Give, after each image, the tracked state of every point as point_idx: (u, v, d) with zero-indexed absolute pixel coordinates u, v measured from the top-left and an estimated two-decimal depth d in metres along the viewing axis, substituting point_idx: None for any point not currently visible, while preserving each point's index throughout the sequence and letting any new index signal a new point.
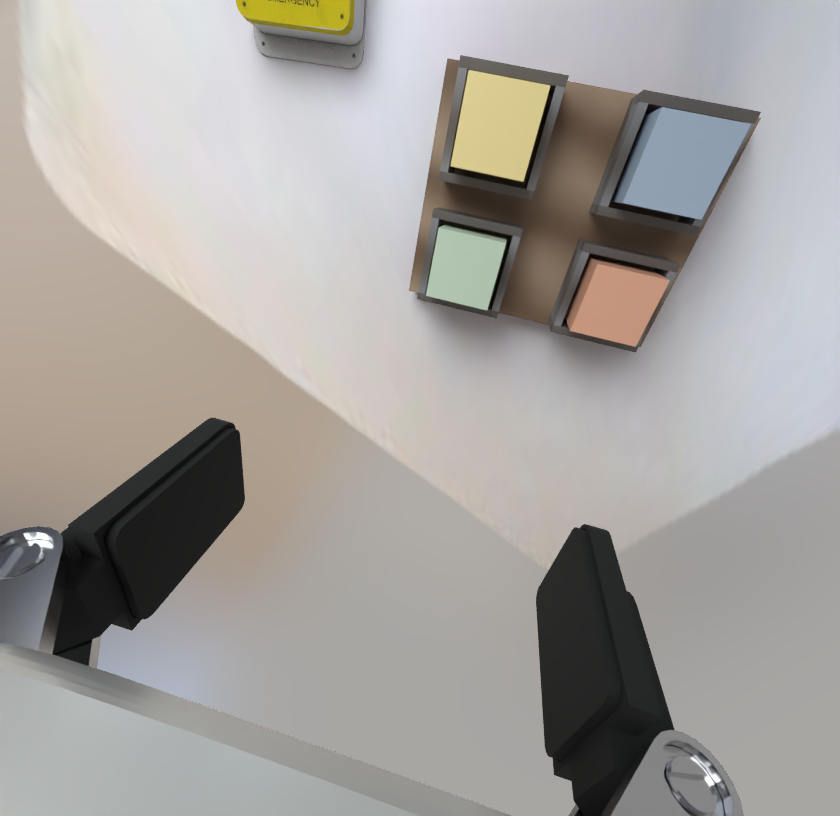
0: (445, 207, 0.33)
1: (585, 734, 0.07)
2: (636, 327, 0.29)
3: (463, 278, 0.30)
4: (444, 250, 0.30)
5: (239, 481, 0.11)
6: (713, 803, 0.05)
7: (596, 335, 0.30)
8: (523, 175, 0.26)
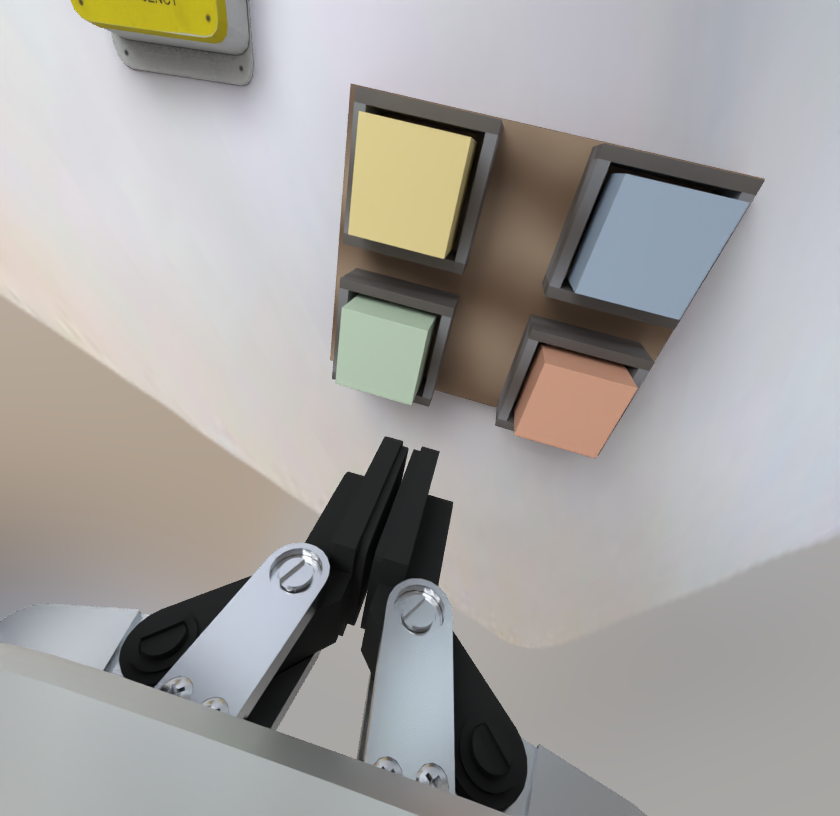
0: (364, 268, 0.26)
1: (372, 596, 0.08)
2: (595, 437, 0.23)
3: (378, 368, 0.24)
4: (351, 334, 0.23)
5: None
6: (434, 611, 0.07)
7: (546, 442, 0.24)
8: (443, 251, 0.19)
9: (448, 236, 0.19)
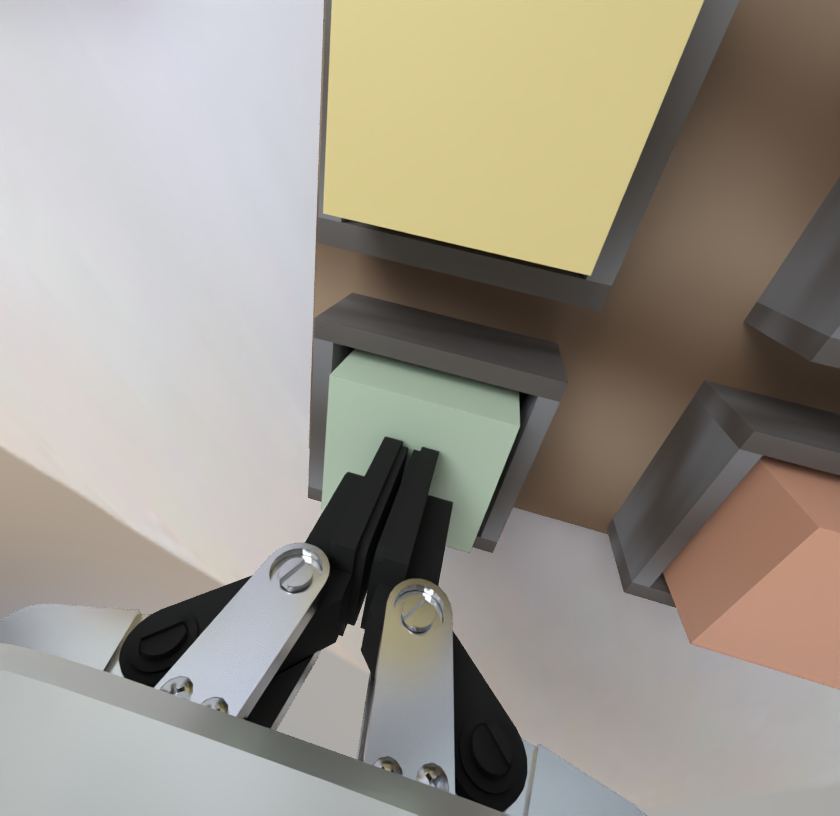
0: (366, 293, 0.13)
1: (372, 596, 0.08)
2: None
3: None
4: (351, 426, 0.11)
5: None
6: (433, 611, 0.07)
7: (765, 663, 0.11)
8: (592, 254, 0.07)
9: (614, 210, 0.06)
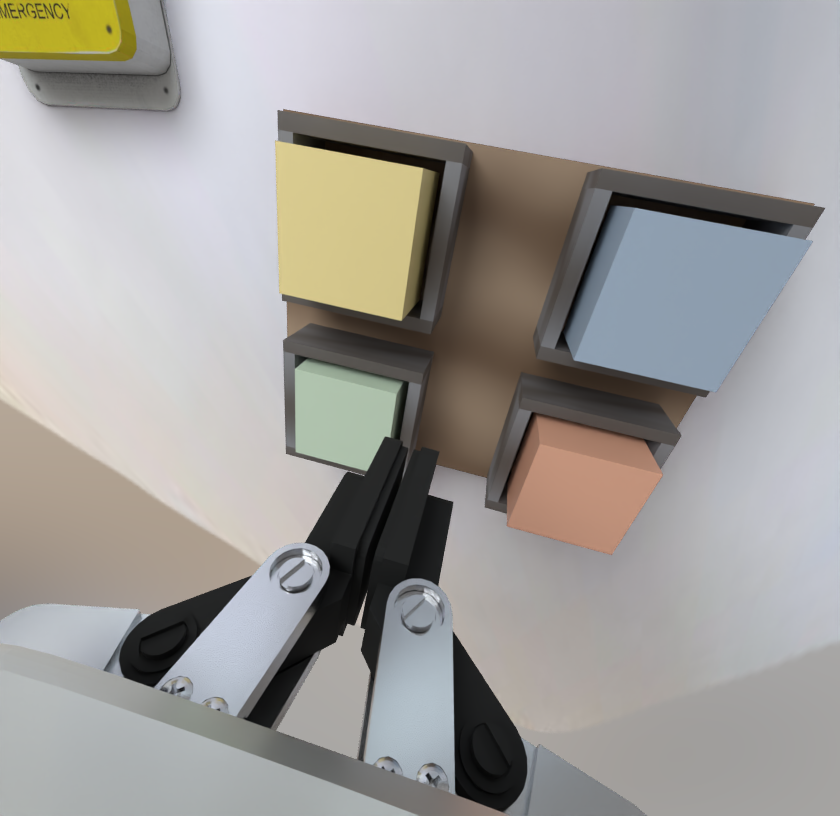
0: (319, 323, 0.21)
1: (372, 596, 0.08)
2: (610, 530, 0.18)
3: (343, 435, 0.20)
4: (308, 398, 0.19)
5: None
6: (434, 611, 0.07)
7: (548, 535, 0.19)
8: (399, 311, 0.15)
9: (404, 293, 0.15)
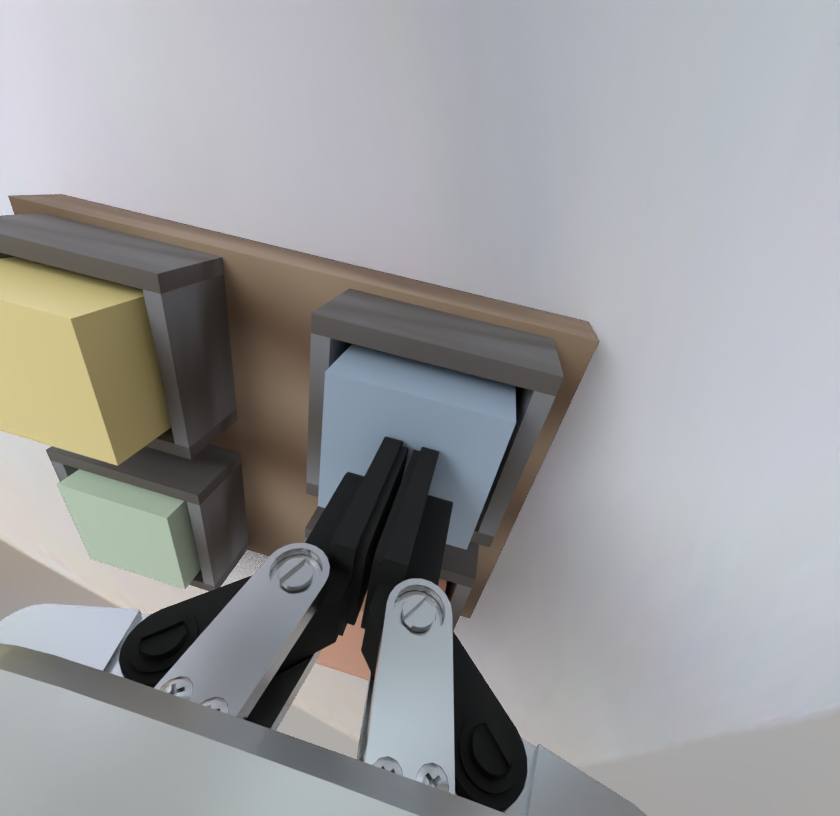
0: None
1: (372, 596, 0.08)
2: None
3: (130, 549, 0.18)
4: (82, 512, 0.17)
5: None
6: (433, 611, 0.07)
7: (346, 671, 0.17)
8: (112, 456, 0.13)
9: (110, 439, 0.12)
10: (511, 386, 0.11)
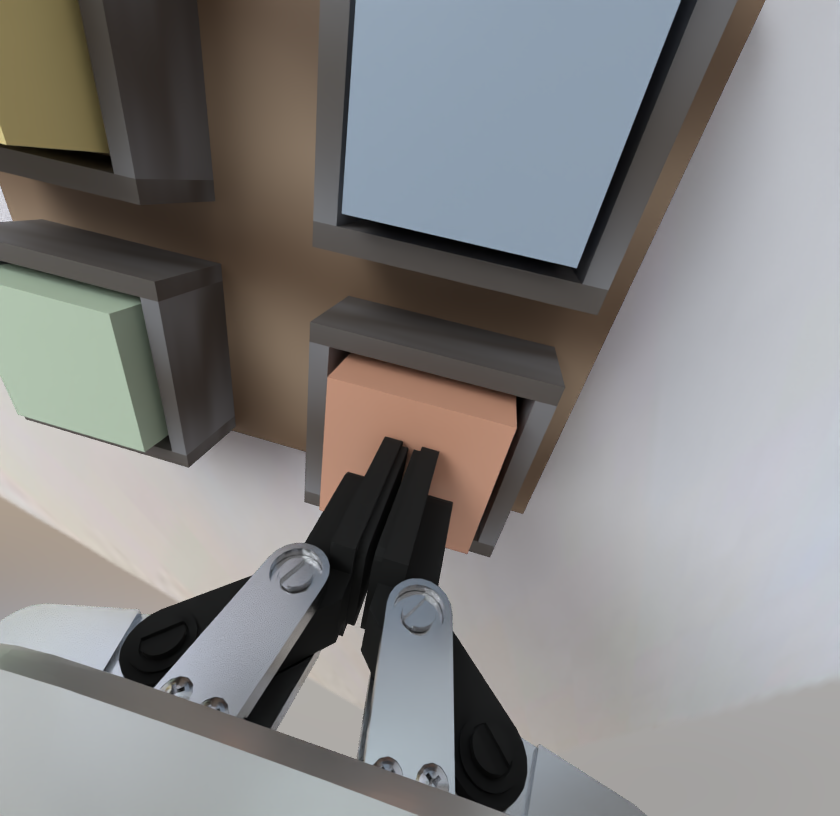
0: (54, 219, 0.14)
1: (372, 596, 0.08)
2: (459, 518, 0.12)
3: (66, 387, 0.13)
4: None
5: None
6: (433, 611, 0.07)
7: None
8: None
9: None
10: None
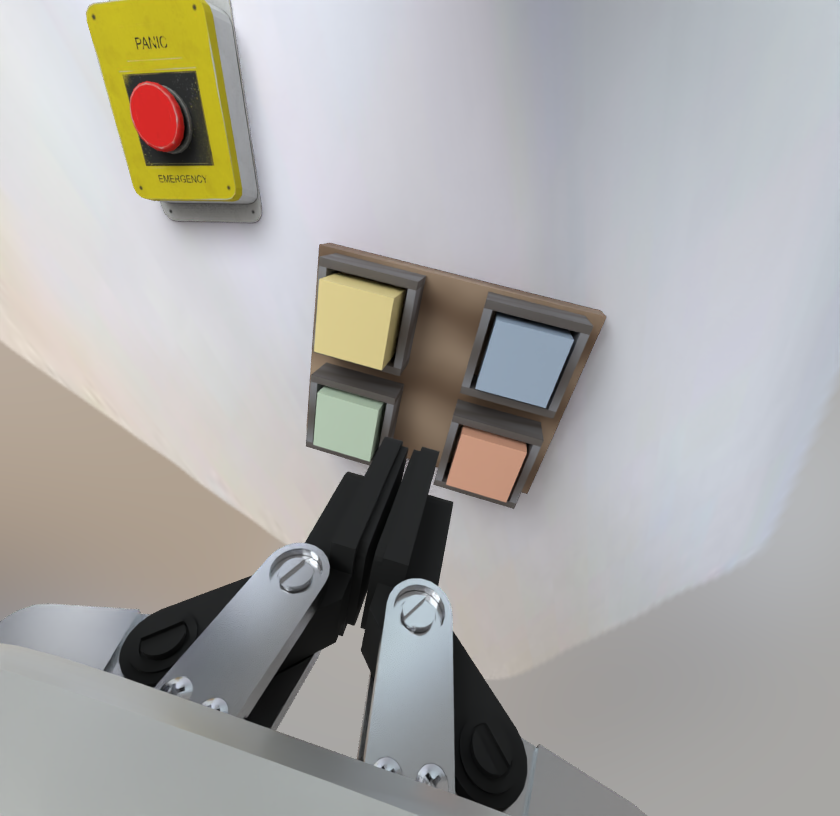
0: (331, 363, 0.34)
1: (372, 596, 0.08)
2: (504, 486, 0.31)
3: (344, 434, 0.32)
4: (324, 410, 0.31)
5: None
6: (433, 611, 0.07)
7: (469, 490, 0.32)
8: (380, 365, 0.27)
9: (383, 356, 0.27)
10: (568, 331, 0.27)
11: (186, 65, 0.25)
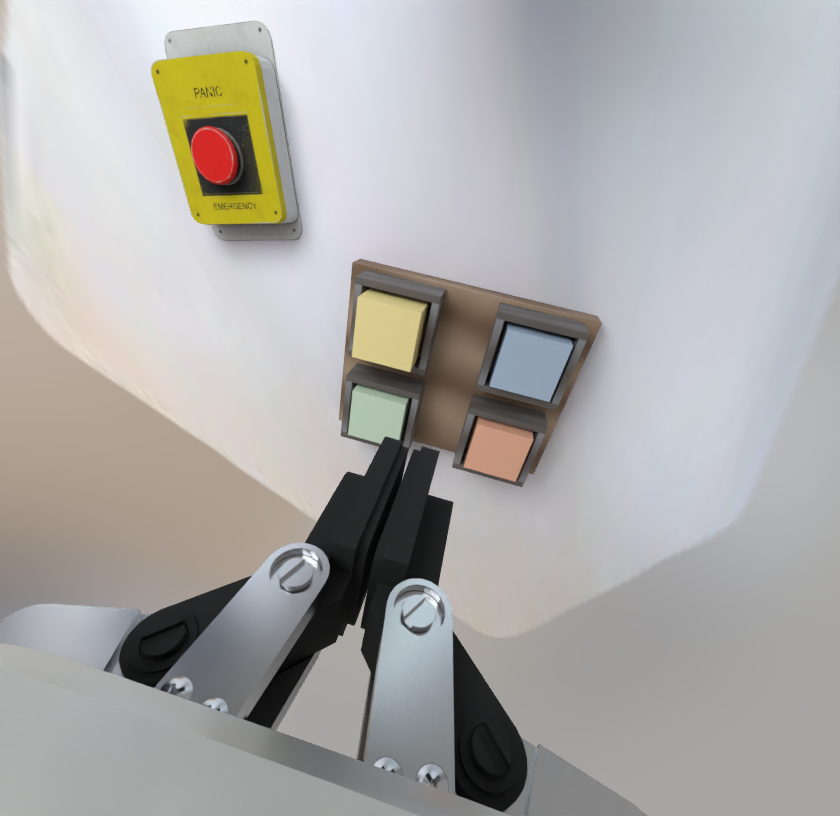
0: (362, 363, 0.38)
1: (372, 596, 0.08)
2: (513, 468, 0.36)
3: (375, 425, 0.37)
4: (358, 405, 0.37)
5: None
6: (434, 611, 0.07)
7: (484, 471, 0.37)
8: (409, 368, 0.32)
9: (412, 360, 0.32)
10: (568, 336, 0.31)
11: (238, 110, 0.29)
